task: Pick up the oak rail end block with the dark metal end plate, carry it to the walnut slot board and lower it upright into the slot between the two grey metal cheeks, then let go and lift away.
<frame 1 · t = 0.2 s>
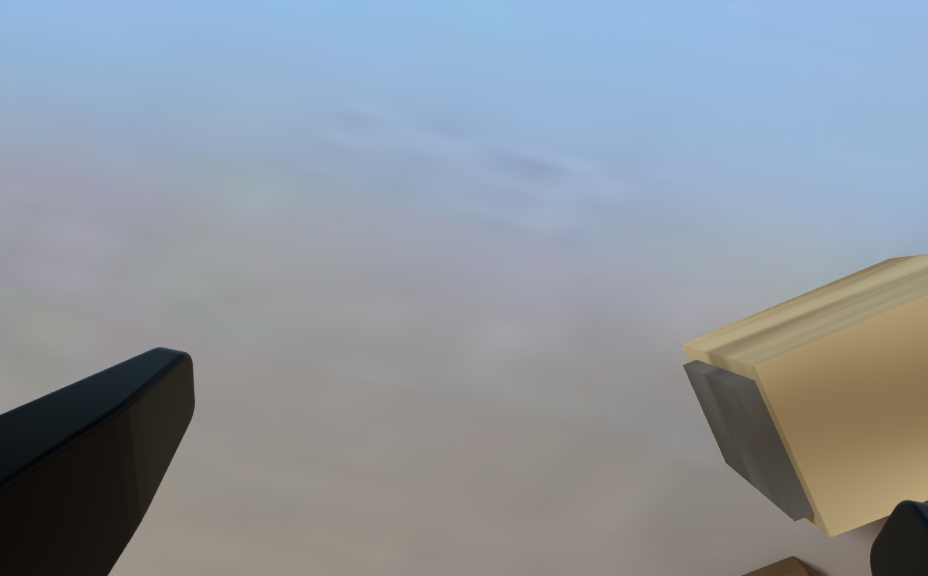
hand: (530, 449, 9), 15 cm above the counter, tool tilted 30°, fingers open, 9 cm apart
oak rail end: (809, 359, 24), on the counter
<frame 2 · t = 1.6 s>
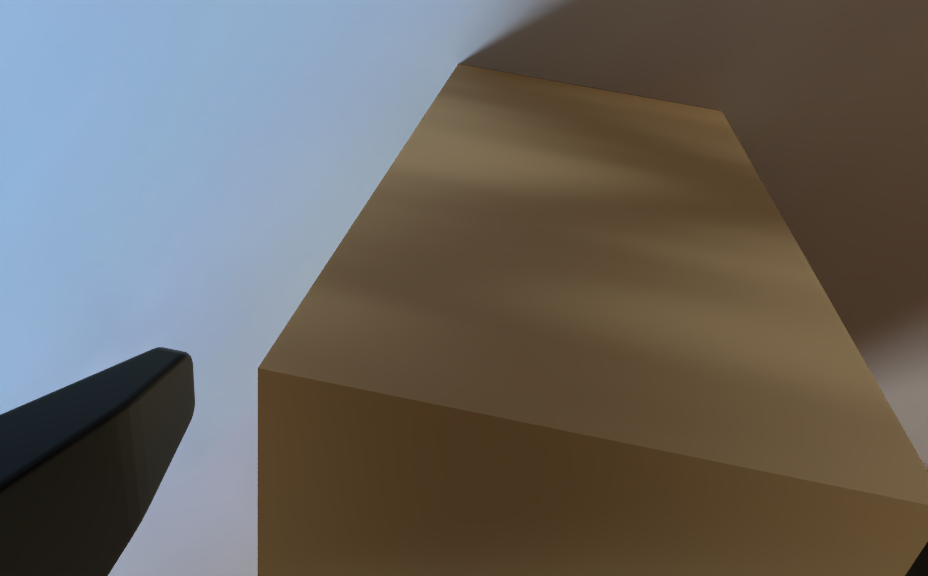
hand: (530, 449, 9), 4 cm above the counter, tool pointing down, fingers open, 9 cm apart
oak rail end: (543, 286, 13), on the counter
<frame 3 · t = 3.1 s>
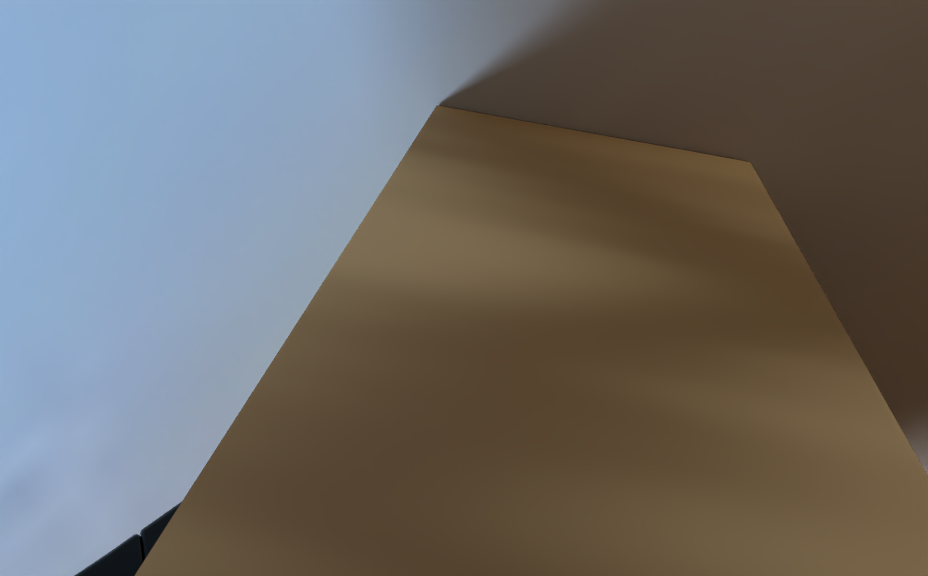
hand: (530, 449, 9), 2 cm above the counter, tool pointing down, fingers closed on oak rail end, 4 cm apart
oak rail end: (539, 357, 11), on the counter, touching gripper
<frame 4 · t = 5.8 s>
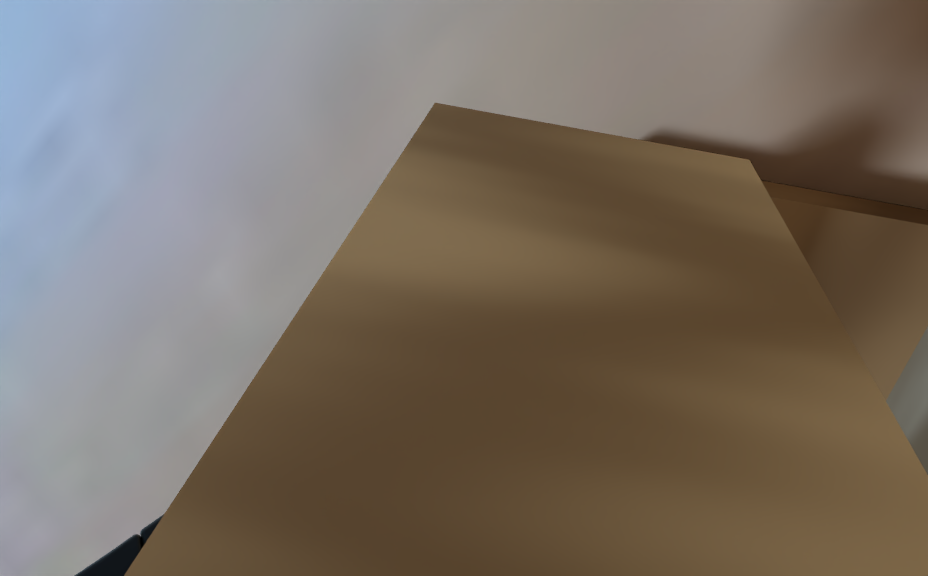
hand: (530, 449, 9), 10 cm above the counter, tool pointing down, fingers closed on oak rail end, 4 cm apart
oak rail end: (538, 355, 11), point 8 cm above the counter, touching gripper
slot board: (756, 388, 21), on the counter
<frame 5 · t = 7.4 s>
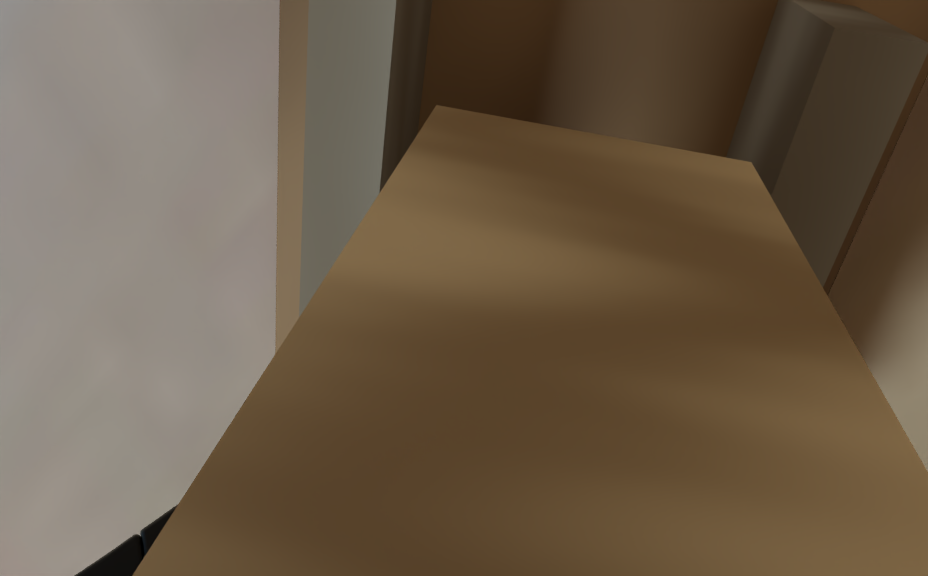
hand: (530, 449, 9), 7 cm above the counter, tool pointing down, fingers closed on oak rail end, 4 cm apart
oak rail end: (539, 357, 11), point 5 cm above the counter, touching gripper
slot board: (550, 216, 15), on the counter
when the fingers open (5 cm above the counter, at t = 8.6 s): oak rail end drops 2 cm, resting on slot board.
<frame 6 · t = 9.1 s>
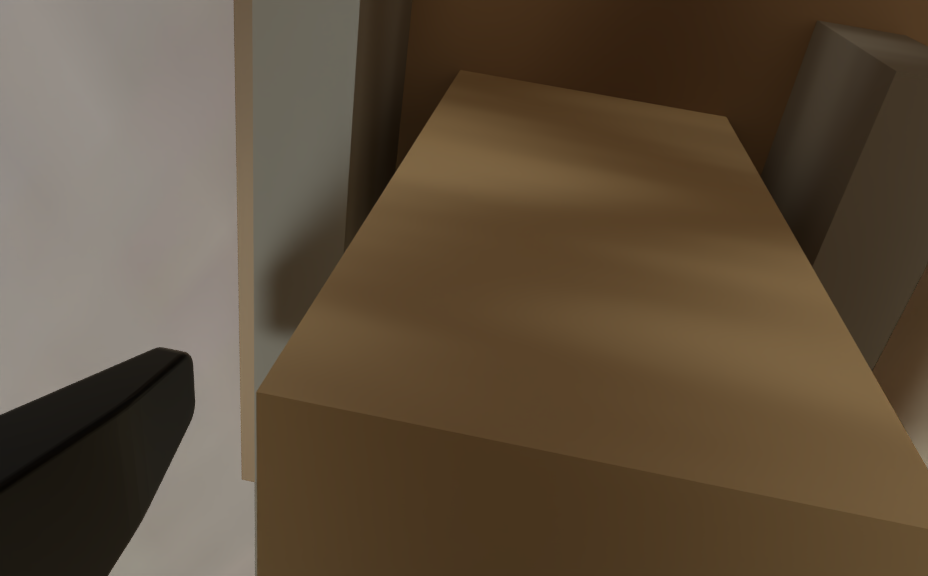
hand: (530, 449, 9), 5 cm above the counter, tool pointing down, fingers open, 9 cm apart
oak rail end: (546, 293, 13), point 1 cm above the counter, touching slot board
slot board: (547, 265, 14), on the counter
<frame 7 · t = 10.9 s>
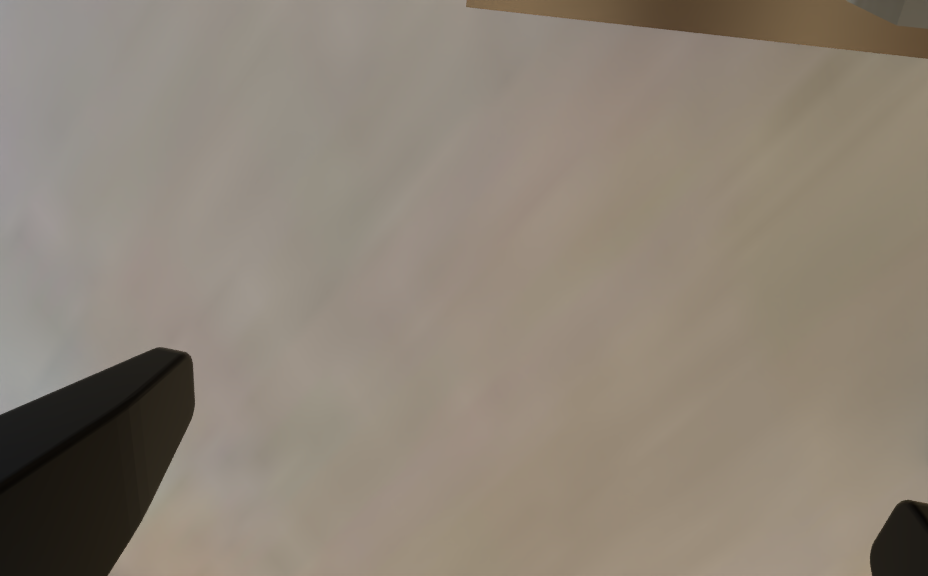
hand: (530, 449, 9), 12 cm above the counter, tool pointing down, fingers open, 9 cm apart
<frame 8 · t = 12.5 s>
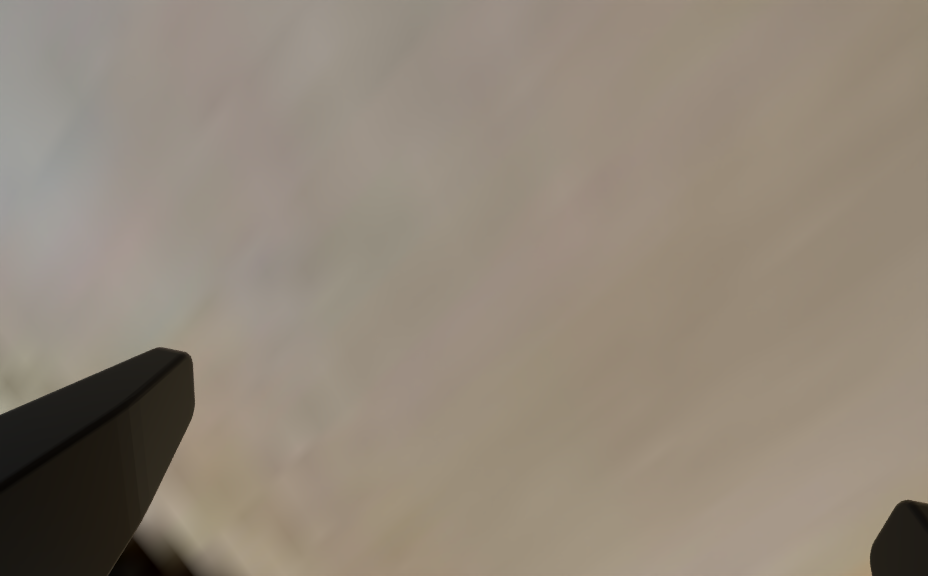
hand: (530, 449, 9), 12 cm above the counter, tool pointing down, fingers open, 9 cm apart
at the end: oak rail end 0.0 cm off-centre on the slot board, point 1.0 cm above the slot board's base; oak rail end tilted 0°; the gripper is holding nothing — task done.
